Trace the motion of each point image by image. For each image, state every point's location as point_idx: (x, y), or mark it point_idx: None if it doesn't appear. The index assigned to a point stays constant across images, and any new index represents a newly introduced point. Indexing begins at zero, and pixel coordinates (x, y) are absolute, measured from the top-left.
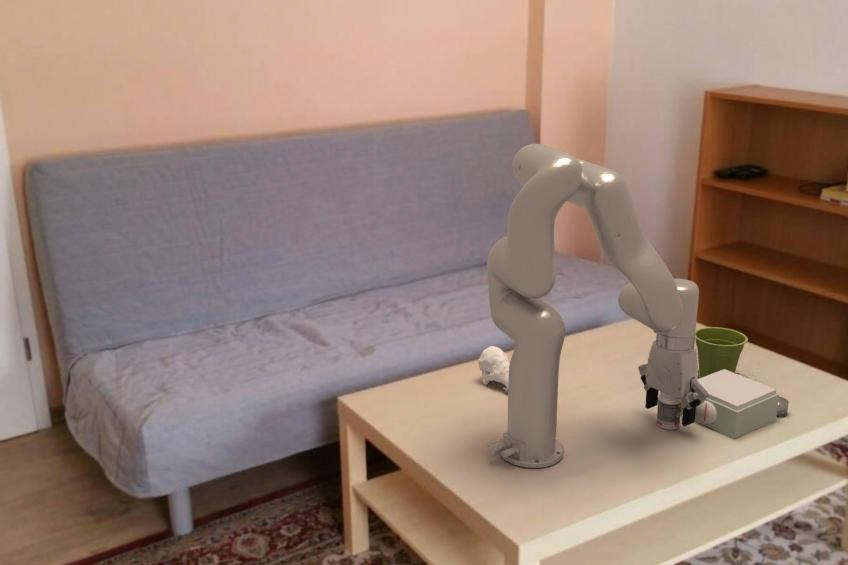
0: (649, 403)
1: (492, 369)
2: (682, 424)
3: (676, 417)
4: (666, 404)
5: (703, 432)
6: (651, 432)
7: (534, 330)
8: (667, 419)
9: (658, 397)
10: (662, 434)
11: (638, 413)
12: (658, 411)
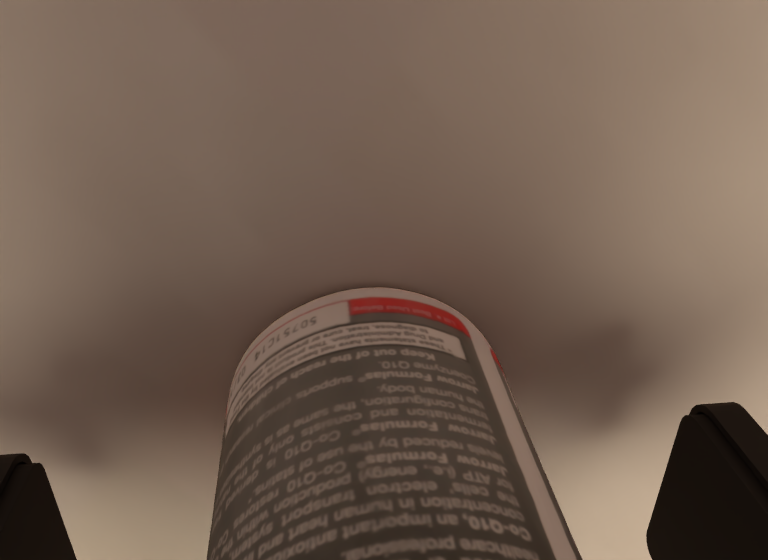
0: (726, 485)
1: None
2: (5, 461)
3: (212, 518)
4: None
5: None
6: (344, 89)
7: None
8: (281, 405)
9: None
10: (212, 175)
11: (763, 323)
12: (470, 431)
